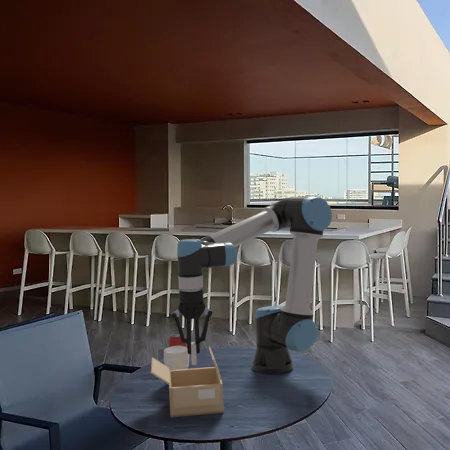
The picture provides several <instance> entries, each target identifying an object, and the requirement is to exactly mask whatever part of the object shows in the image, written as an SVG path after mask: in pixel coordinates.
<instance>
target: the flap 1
mask: <svg viewBox="0 0 450 450" xmlns="http://www.w3.org/2000/svg"><path fill="white" fill-rule="evenodd" d="M150 363H151V365H150V374H151V375H153V376H155V377H156V378H157V379H159V380H160V381H163V382H164V383H166V384H167V385H169V384H170V377H169V368H168V367H167V366H165V364H164V363H162V362H160V361H159V360H157V359H156V358H155V357H151V362H150Z"/></svg>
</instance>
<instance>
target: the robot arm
mask: <svg viewBox="0 0 450 450" xmlns="http://www.w3.org/2000/svg"><path fill="white" fill-rule="evenodd" d="M332 217H333V213H332V208H331V206H330V205H329V203H328V202H327V200H325V199H324V198H323V197H319V196H311V195H309V196H307V195H306V196H290V197H286V198H283V199H281V200H278V201H276V202H274V203H272V204H270V205H267V206H265V207H264V208H262V210H261V212H259V213H257V214H254V215H252V216H250V217H247V218H245V219H242V220H241V221H239V222H236V223H234V224H232V225H230V226H227V227H225V228H223V229H220V230H218V231H216V232H214V233H212V234H209V235H208V236H205V237H202V238H200V239H197V238H191V239H189V238H188V239H187V238H186V239H181V240H179V241H178V242H177V248H176V249H177V250H176V257H177V270H178V272H177V273H178V276H177V277H178V289H179V291H178V296H179V297H178V299H179V304H178V306H177V307H178V308H177V309H176V310H175V311H172V312H171V316H172V318H173V320H174V321H175V324H176V328H177V331H178V333H179V335H180V338H181V341H182V343H186V347H187V352H188V354H189V355H190V359H191V360H190V361H191V365H192V366H198V365H197V364H198V363H197V361H198V360H197V354H200V352H201V350H200V348H201V347H200V344H201V343H202V342H205V341H206V337H207V333H208V328H209V327H208V326H209V323H210V318H211V317H212V315H213V310H212V309H211V308H208V307H206V305H205V302H204V290H203V288H204V279H203V277H204V275H203V274H204V273H203V270H204V269H205V270H206V269H211V268H212V269H213V268H220V267H227V266H232V265H234V264H235V263H236V261H237V260H238V259H237V258H238V256H237V255H238V254H237V252H238V251H237V247H238V246H240V245H243V244H245V243H247V242H249V241H251V240H253V239H255V238H258V237H260V236H262V235H264V234H267V233H269V232H273V233H274V232H277V231H280V230H282V229H289V233H290V235H291V236H292V247H291V254H290V255H291V256H290V263H289V272H288V280H287V290H286V296H285V303H284V305H270V306H269V305H268V306H263V307H259V308H257V309H256V311H255V316H254V317H255V318H254V320H255V343H256V345H255V351H254V355H253V359H252V362H251V363H252V364H251V365H252V370H254V371H255V372H257V373H260V374H266V375H278V374H285V373H288V372H290V371H291V370H293V367H294V365H293V364H294V363H293V360H292V356H291V353H290V351H295V352H298V353H301V352H302V353H303V352H306V351H308V350H310V349H311V347H313V346H314V344H315V343H316V341H317V339H318V338H319V337H318V336H319V328H318V326H317V324H316V323H315V321H314V312H313V311H312V309H311V308H310V307H311V301H312V300H311V299H312V290H313V283H314V274H315V266H316V265H315V264H316V258H317V249H318V248H317V247H318V241H319V240H321V238H322V237H323V236H324V230H326V229H327V228H328V227H329V226H330V225H331V222H332V219H333V218H332ZM203 313H204V320H203V325H202V329H201V335H200V323H199V322H200V321H199V318H200V317H201V316H202V315H203ZM180 314H181V315H182V317H183V318H184V319H185V325H186V326H185V327H186V336H185V333H184V331H183V327H182V324H181V320H180ZM191 320H193V321H194V339H195V341H192V333H191V332H192V331H191V326H192V324H191ZM184 336H185V337H184ZM289 350H290V351H289Z"/></svg>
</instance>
